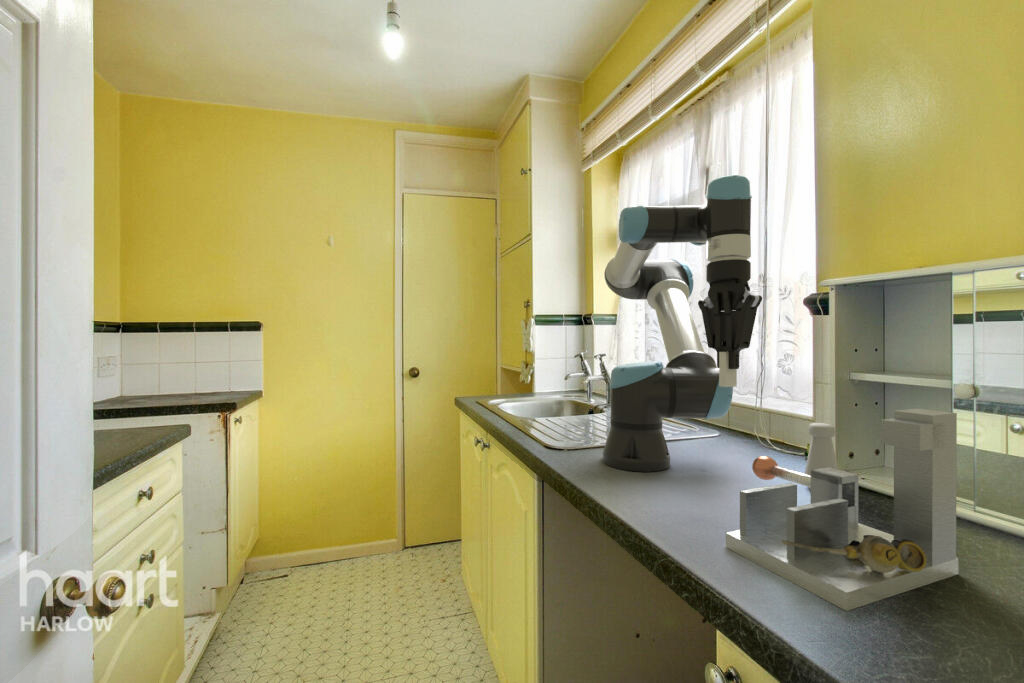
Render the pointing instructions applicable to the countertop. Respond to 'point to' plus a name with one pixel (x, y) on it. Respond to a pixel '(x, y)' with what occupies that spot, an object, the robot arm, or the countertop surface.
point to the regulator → (879, 553)
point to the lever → (780, 472)
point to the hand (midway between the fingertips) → (727, 386)
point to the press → (834, 518)
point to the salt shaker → (821, 448)
